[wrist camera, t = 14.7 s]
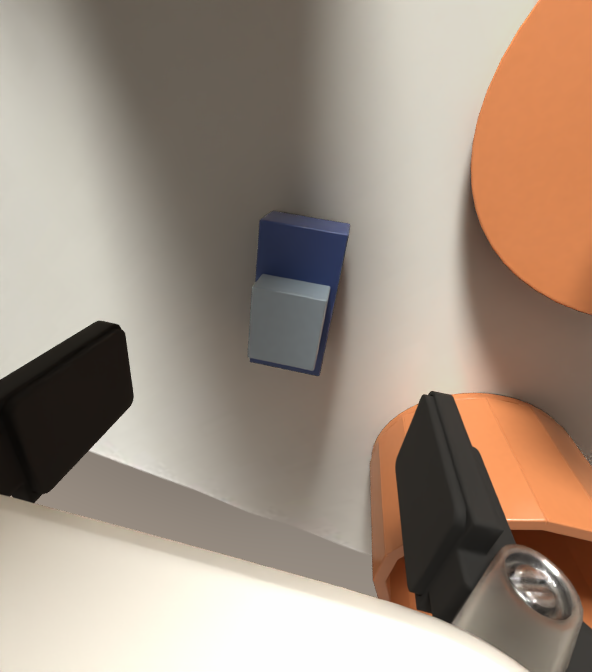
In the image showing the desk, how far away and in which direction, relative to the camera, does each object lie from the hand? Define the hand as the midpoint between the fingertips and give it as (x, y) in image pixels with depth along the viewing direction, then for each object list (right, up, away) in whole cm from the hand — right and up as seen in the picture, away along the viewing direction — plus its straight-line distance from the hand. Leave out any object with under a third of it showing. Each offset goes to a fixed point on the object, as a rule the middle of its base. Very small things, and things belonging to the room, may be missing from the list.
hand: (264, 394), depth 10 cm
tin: (+12, -6, +11) cm, 17 cm away
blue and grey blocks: (+1, +5, +7) cm, 8 cm away
